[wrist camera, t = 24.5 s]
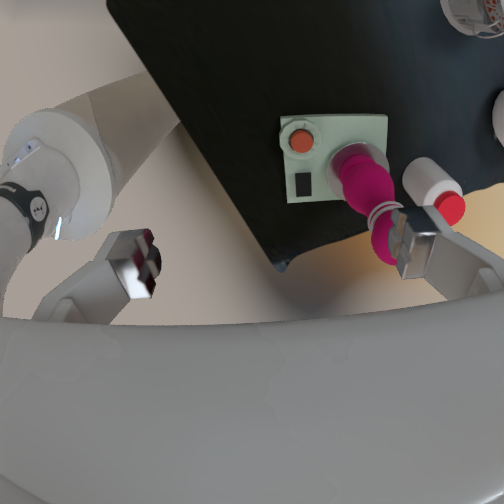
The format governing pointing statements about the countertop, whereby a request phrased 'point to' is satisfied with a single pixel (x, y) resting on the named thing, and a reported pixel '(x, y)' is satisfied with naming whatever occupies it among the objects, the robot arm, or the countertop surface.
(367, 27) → the countertop surface
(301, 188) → the scale top
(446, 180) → the pill bottle
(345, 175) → the pepper mill
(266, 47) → the countertop surface
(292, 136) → the button
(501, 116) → the white round vase
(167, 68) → the countertop surface
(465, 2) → the french press
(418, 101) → the countertop surface
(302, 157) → the scale
